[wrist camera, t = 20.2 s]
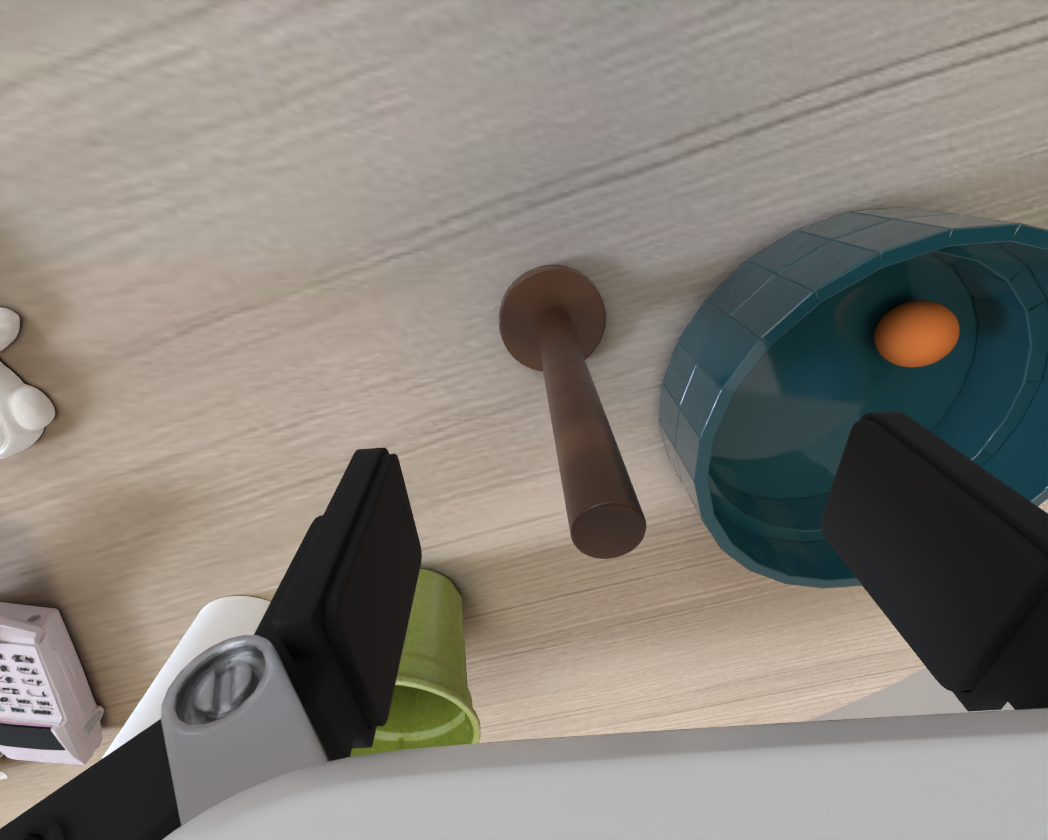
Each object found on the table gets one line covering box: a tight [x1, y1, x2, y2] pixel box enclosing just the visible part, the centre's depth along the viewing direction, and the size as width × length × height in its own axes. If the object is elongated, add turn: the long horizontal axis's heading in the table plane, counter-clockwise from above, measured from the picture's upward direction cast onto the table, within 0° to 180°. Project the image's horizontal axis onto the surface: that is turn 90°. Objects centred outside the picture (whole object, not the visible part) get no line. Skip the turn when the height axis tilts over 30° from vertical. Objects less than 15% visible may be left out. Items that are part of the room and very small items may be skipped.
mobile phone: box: [0, 602, 104, 765], centre depth 31 cm, size 6×6×25 cm
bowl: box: [660, 207, 1048, 588], centre depth 22 cm, size 17×17×6 cm
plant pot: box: [350, 569, 481, 757], centre depth 28 cm, size 9×9×9 cm
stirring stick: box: [499, 265, 646, 559], centre depth 16 cm, size 5×5×15 cm
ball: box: [874, 301, 960, 367], centre depth 22 cm, size 3×3×3 cm
